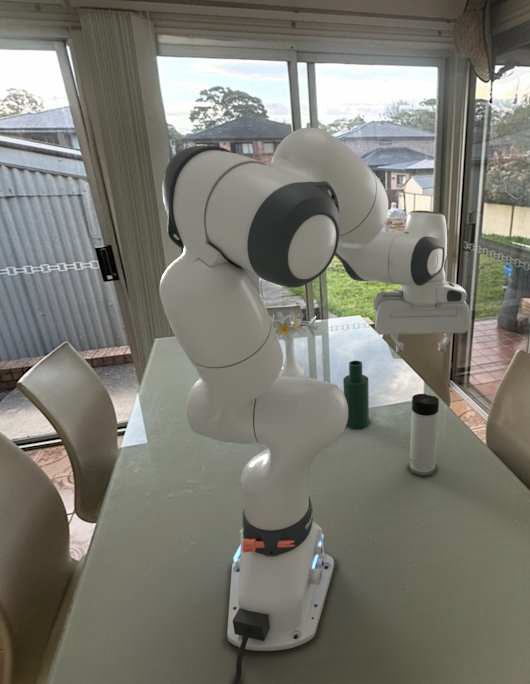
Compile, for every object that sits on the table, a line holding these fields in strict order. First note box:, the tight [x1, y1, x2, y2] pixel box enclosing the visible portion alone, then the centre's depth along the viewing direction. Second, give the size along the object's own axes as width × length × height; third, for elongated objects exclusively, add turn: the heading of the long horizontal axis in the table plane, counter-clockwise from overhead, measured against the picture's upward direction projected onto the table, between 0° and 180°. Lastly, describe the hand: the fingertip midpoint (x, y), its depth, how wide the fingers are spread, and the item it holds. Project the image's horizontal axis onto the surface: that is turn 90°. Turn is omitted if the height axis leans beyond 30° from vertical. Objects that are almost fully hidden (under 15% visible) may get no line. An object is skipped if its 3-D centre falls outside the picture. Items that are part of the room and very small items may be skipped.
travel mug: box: [409, 393, 440, 477], centre depth 105 cm, size 6×7×20 cm
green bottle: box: [342, 360, 370, 430], centre depth 125 cm, size 7×7×19 cm
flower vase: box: [269, 310, 319, 377], centre depth 150 cm, size 13×18×25 cm
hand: (420, 351), depth 97 cm, fingers open, 8 cm apart
